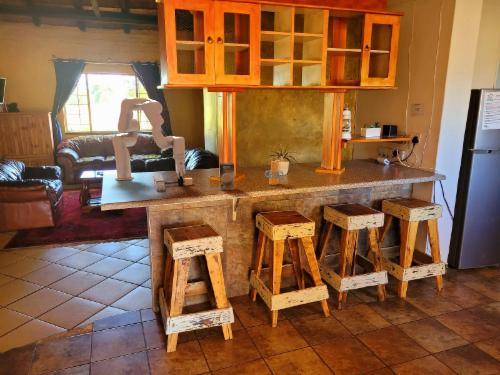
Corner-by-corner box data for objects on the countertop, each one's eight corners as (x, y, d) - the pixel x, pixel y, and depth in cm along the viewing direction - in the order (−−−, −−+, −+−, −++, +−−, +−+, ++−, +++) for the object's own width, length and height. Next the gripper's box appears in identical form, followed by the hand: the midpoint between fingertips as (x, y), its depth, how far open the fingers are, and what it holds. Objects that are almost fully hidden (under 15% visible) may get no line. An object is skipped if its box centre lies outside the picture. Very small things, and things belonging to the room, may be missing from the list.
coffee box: (219, 190, 226) (218, 164, 222) (220, 187, 232) (219, 162, 228) (234, 190, 226) (234, 164, 222) (234, 187, 232) (234, 162, 229)
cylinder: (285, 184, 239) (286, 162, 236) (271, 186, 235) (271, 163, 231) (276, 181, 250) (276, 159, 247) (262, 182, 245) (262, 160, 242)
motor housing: (153, 183, 244) (153, 174, 243) (161, 183, 246) (160, 174, 244) (156, 190, 226) (155, 180, 224) (164, 189, 227) (164, 180, 226)
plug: (154, 186, 237) (154, 180, 236) (191, 183, 244) (191, 177, 243) (155, 187, 233) (154, 181, 232) (192, 184, 241) (192, 178, 240)
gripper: (187, 157, 230) (188, 186, 234) (183, 154, 244) (184, 181, 248) (175, 158, 227) (176, 187, 231) (171, 155, 242) (173, 182, 246)
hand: (180, 184), depth 240 cm, fingers closed on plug, 1 cm apart
